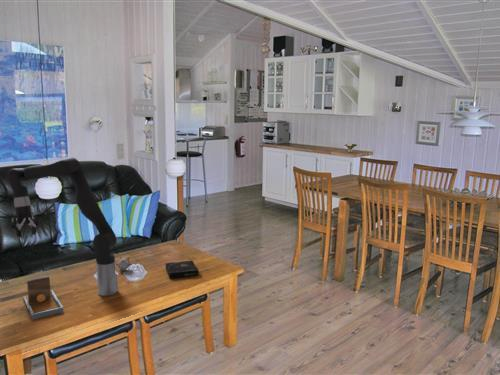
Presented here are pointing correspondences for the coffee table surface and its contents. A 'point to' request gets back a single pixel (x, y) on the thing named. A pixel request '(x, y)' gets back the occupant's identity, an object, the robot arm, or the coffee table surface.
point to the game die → (124, 263)
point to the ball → (40, 298)
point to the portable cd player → (181, 269)
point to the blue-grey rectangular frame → (46, 313)
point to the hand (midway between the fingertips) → (26, 235)
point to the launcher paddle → (38, 287)
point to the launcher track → (29, 305)
